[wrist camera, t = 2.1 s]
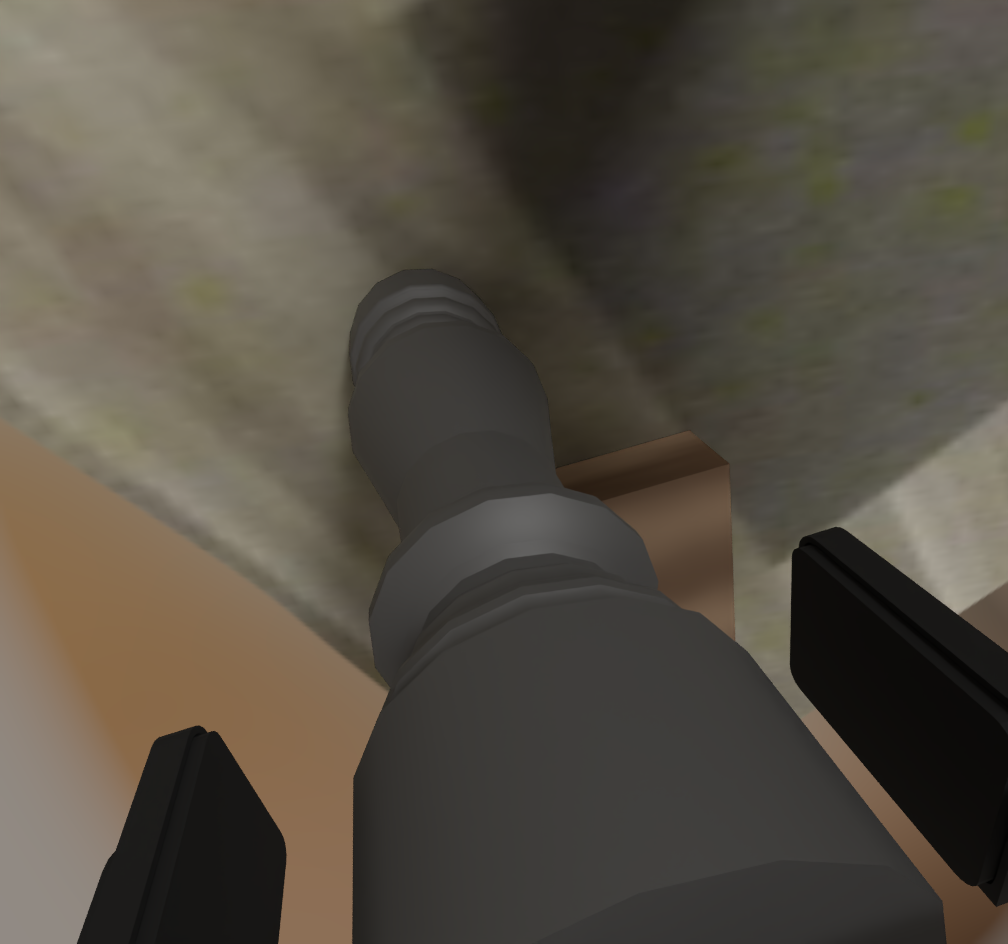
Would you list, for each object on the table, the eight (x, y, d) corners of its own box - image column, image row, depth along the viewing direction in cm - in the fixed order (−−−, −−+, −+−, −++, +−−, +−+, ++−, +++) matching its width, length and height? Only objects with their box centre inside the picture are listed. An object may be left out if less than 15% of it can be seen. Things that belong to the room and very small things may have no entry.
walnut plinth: (464, 494, 31) (478, 537, 28) (689, 430, 32) (729, 463, 29) (511, 664, 37) (527, 717, 34) (700, 605, 38) (735, 651, 35)
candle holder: (518, 316, 28) (1089, 900, 6) (447, 430, 30) (695, 1200, 8) (394, 238, 26) (611, 751, 4) (324, 367, 27) (190, 1237, 5)
